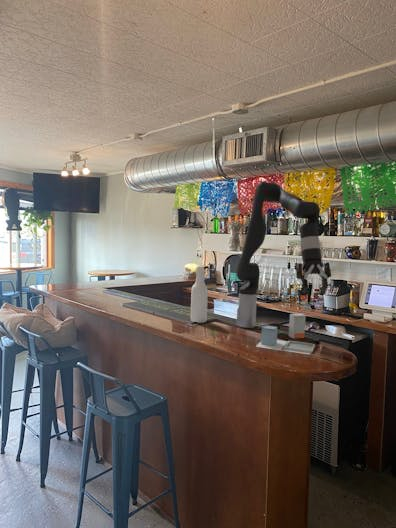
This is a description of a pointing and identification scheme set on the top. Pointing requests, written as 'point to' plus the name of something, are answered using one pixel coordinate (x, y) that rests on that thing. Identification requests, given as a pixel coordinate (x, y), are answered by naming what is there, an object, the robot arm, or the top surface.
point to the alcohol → (199, 298)
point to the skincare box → (297, 325)
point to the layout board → (291, 346)
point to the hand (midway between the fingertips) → (315, 288)
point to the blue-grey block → (269, 335)
